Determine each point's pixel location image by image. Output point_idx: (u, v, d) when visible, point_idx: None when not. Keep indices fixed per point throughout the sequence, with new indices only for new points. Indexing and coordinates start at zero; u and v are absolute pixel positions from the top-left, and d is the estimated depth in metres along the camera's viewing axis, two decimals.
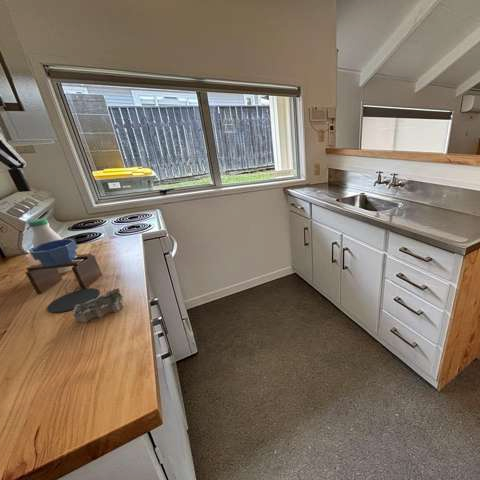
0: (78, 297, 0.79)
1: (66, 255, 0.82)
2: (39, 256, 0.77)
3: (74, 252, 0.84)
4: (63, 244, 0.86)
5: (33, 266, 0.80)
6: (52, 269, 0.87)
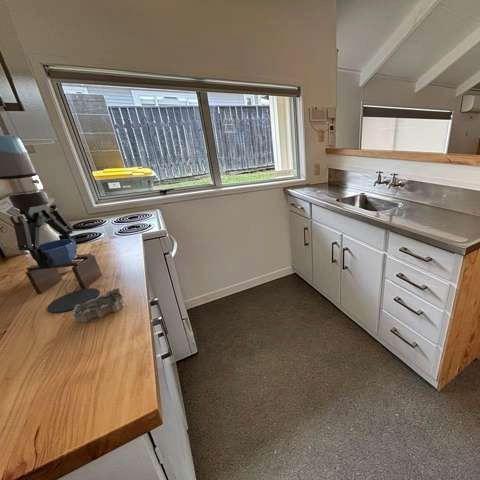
0: (78, 297, 0.79)
1: (66, 255, 0.82)
2: None
3: (74, 252, 0.84)
4: (63, 244, 0.86)
5: (33, 266, 0.80)
6: (52, 269, 0.87)
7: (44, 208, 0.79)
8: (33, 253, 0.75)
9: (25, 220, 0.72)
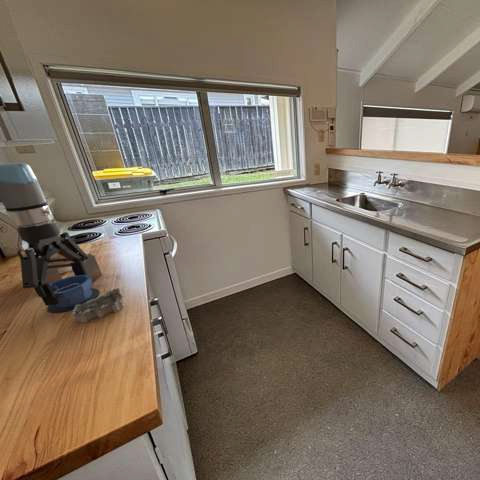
0: None
1: (81, 294, 0.76)
2: None
3: (89, 290, 0.79)
4: (77, 280, 0.81)
5: None
6: (52, 269, 0.87)
7: (54, 239, 0.72)
8: (38, 290, 0.67)
9: (33, 254, 0.66)
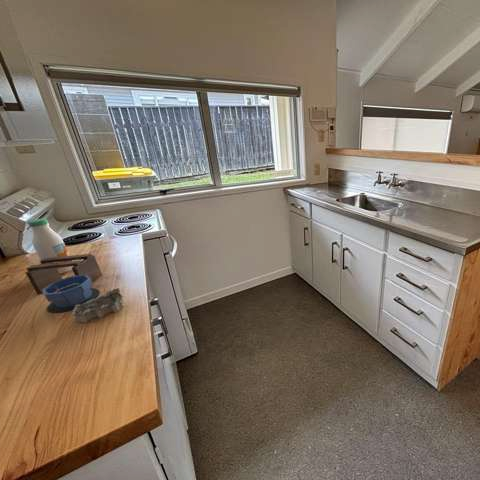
0: None
1: (81, 294, 0.76)
2: (53, 297, 0.72)
3: (89, 290, 0.79)
4: (77, 280, 0.81)
5: (33, 266, 0.80)
6: (52, 269, 0.87)
7: None
8: None
9: None
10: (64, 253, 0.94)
